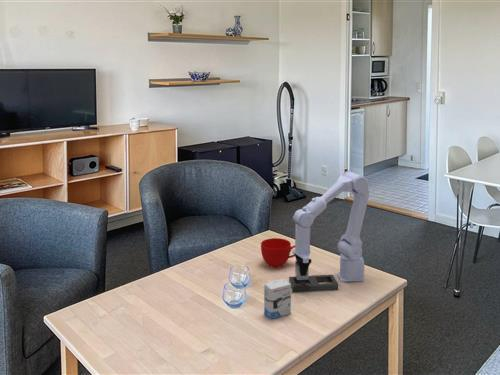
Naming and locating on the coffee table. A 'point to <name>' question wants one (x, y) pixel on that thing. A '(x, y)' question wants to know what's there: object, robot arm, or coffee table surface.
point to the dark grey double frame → (314, 283)
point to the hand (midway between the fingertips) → (302, 272)
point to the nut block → (297, 273)
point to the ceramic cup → (276, 251)
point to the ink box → (277, 298)
